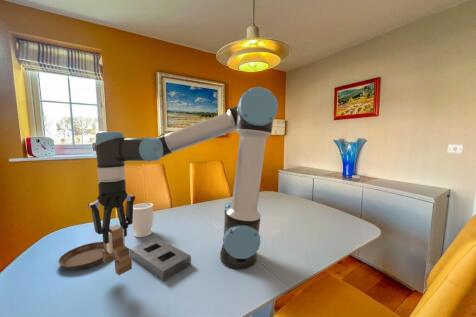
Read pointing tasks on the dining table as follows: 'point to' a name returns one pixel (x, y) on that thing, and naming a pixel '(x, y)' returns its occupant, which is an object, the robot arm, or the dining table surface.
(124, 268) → the brown wooden branched block
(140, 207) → the jar
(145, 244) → the grey slotted base block
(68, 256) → the plant saucer
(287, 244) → the dining table surface
